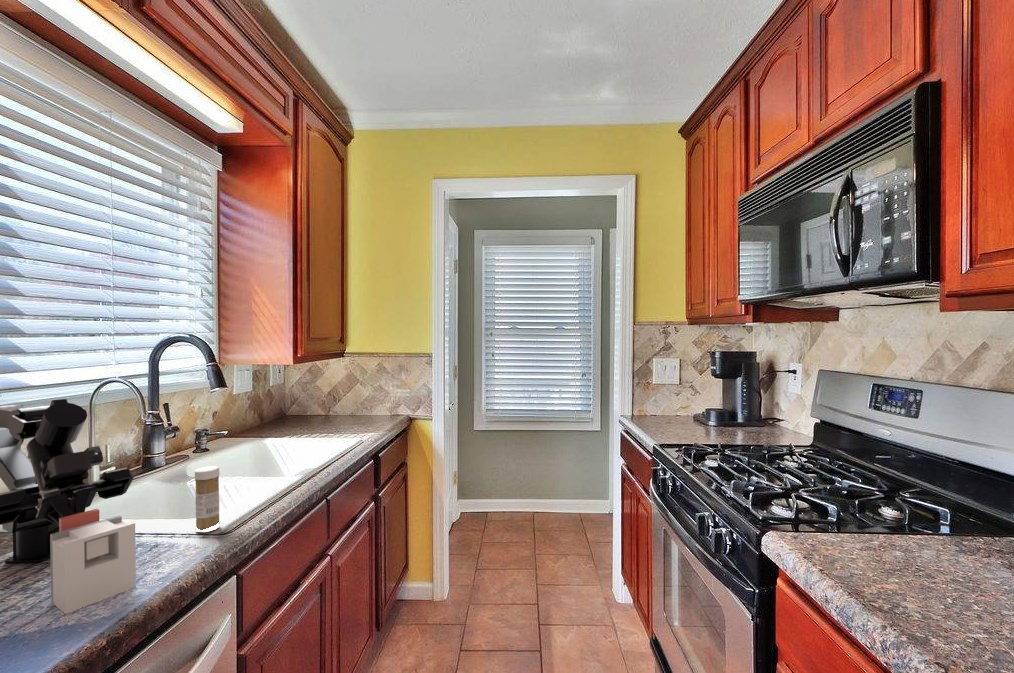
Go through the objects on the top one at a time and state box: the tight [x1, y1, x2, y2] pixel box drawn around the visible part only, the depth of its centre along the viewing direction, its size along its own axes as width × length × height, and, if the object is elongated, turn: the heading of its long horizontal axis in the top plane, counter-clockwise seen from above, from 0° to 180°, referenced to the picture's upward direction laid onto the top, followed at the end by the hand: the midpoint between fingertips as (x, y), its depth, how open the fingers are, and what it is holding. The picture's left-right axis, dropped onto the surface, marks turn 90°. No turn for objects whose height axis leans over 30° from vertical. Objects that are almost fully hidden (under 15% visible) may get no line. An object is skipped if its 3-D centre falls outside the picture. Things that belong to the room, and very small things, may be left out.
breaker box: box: [50, 515, 137, 615], centre depth 78 cm, size 6×9×11 cm
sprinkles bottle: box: [194, 465, 221, 530], centre depth 103 cm, size 5×5×14 cm
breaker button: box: [59, 508, 109, 560], centre depth 79 cm, size 8×5×6 cm, turn 59°
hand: (78, 535), depth 81 cm, fingers closed, pressing on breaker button
